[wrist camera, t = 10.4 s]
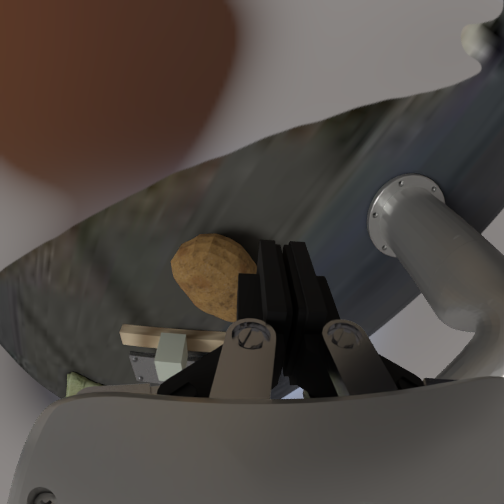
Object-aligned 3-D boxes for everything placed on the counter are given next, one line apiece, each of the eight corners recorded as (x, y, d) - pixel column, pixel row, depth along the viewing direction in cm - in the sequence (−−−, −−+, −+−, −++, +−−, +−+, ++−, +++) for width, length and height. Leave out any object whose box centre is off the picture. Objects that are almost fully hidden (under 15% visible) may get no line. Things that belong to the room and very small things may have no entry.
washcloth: (66, 399, 65) (62, 409, 62) (69, 366, 57) (64, 377, 55) (111, 418, 69) (108, 428, 66) (122, 389, 61) (119, 401, 58)
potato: (231, 308, 48) (229, 347, 41) (162, 248, 43) (149, 283, 36) (282, 274, 45) (289, 311, 38) (214, 204, 40) (208, 234, 33)
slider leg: (185, 334, 48) (180, 363, 43) (191, 380, 55) (187, 406, 49) (161, 332, 48) (154, 360, 43) (169, 378, 54) (165, 404, 49)
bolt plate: (266, 360, 55) (267, 368, 53) (262, 385, 59) (262, 393, 57) (130, 351, 53) (127, 359, 52) (137, 376, 57) (135, 384, 56)
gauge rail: (271, 329, 51) (275, 367, 44) (264, 374, 57) (266, 409, 50) (121, 319, 49) (108, 354, 42) (134, 366, 56) (125, 399, 49)
